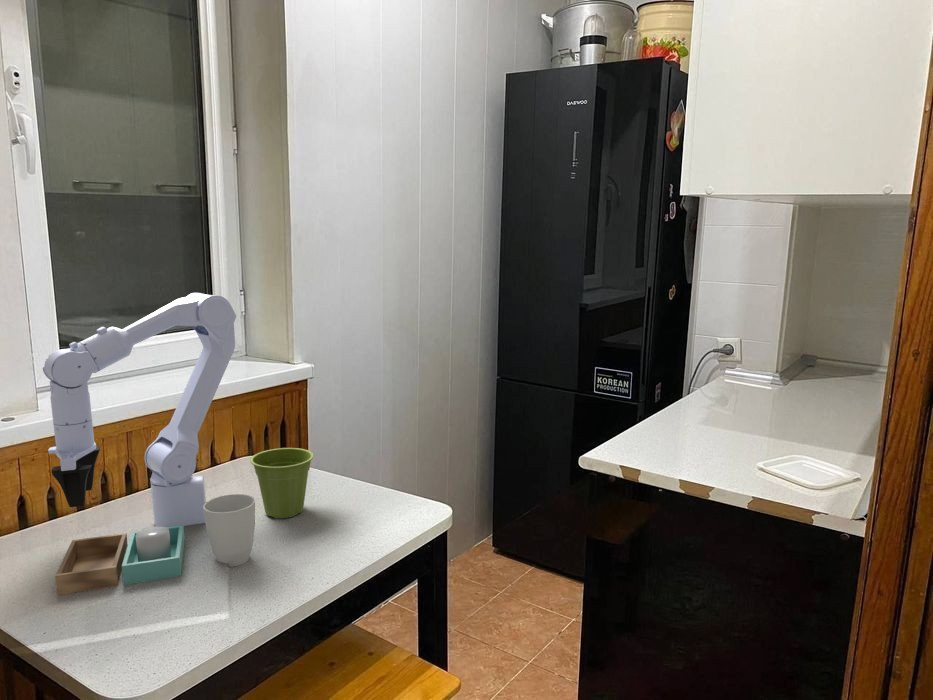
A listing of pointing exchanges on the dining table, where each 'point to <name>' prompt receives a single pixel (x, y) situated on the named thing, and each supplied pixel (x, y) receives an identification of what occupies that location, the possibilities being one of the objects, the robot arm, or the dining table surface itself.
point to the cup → (231, 527)
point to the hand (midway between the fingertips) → (81, 497)
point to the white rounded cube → (153, 544)
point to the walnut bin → (92, 564)
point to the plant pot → (282, 479)
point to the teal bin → (154, 568)
